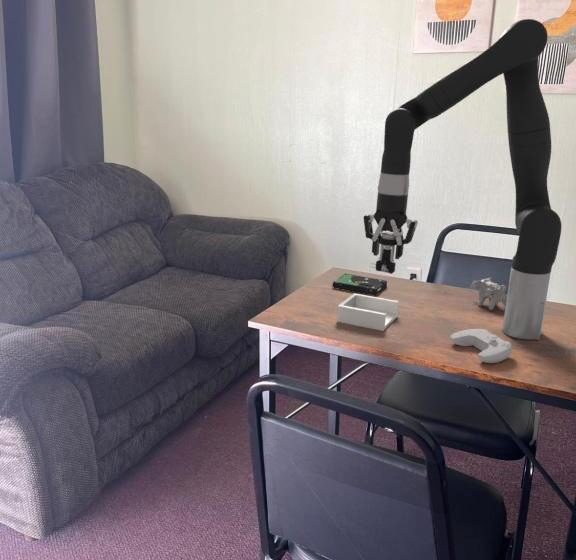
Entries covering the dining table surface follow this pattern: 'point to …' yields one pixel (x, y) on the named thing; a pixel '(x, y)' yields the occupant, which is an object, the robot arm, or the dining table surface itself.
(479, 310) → the dining table surface
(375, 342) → the dining table surface
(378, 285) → the disk drive
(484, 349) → the game controller
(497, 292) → the elephant statuette
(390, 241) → the push button
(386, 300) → the box
